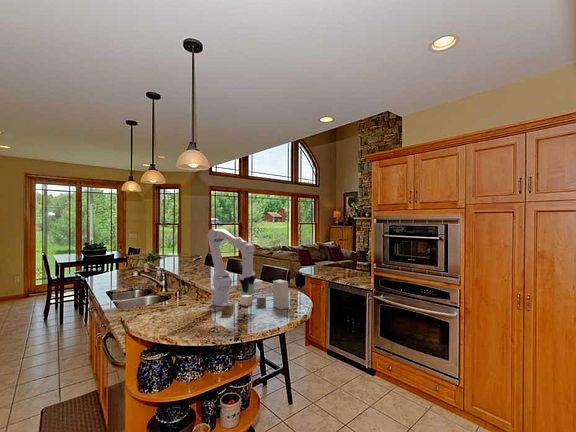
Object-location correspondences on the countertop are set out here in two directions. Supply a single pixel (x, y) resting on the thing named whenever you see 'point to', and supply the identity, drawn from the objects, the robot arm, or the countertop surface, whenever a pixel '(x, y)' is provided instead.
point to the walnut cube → (227, 308)
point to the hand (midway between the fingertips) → (247, 290)
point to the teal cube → (249, 290)
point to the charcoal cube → (261, 301)
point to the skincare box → (280, 294)
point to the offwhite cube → (246, 300)
